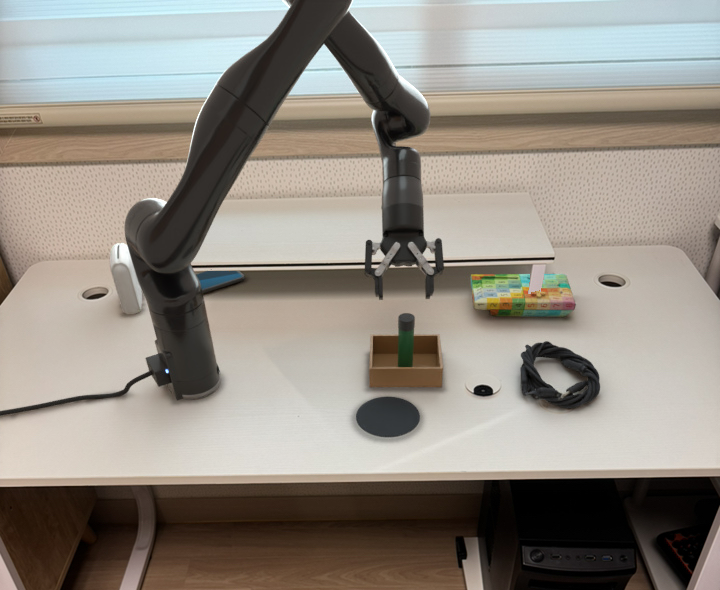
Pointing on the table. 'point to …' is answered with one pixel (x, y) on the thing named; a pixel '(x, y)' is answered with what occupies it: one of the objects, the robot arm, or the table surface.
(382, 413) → the coaster
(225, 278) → the smartphone
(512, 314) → the puzzle game
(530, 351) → the cable
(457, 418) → the table surface
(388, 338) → the box
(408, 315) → the glue stick
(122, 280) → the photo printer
